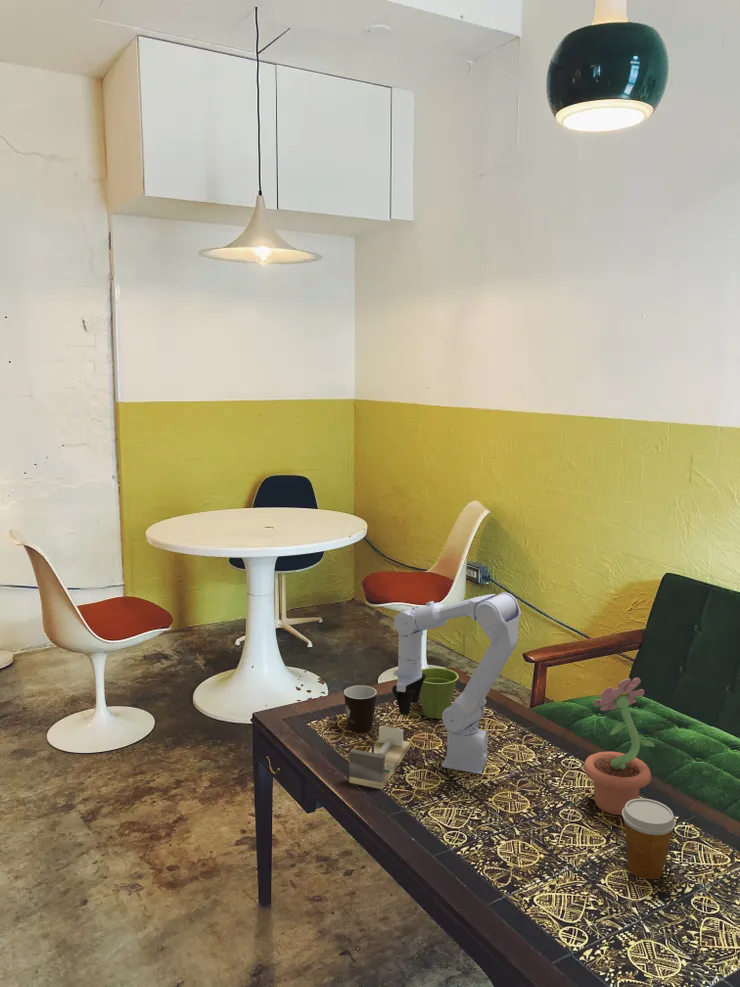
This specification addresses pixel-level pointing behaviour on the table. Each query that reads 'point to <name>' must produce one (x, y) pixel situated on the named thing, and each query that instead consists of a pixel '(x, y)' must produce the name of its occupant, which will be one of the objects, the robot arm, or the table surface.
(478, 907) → the table surface
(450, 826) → the table surface
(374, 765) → the beige l-shaped stand
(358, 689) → the coffee mug
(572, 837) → the table surface
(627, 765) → the decorative flower
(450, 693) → the plant pot
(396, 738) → the white t-shaped block
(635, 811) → the disposable coffee cup
